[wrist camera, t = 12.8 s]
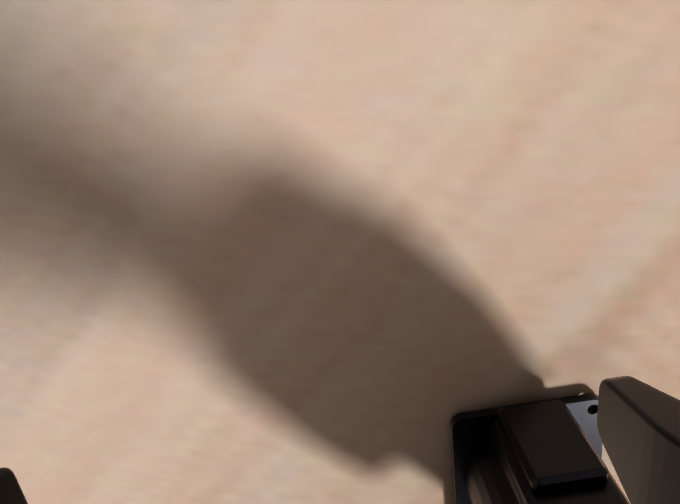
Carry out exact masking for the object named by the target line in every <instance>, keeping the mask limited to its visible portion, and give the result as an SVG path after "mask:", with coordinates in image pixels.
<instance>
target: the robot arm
mask: <svg viewBox="0 0 680 504" xmlns="http://www.w3.org/2000/svg"><path fill="white" fill-rule="evenodd" d="M591 405H594V406H593V407H591V408H589V407H590V406H591ZM462 424H466V425H465V426H463V427H459V426H460V425H462ZM450 436H451V453H452V471H453V489H454V504H630V503H631V504H680V400H678V399H676V398H674V397H672V396H670V395H668V394H666V393H664V392H662V391H660V390H658V389H656V388H653V387H651V386H649V385H647V384H645V383H643V382H641V381H639V380H637V379H635V378H633V377H630V376H622V377H615V378H608V379H604V380H603V381H602V382H601V384H600V387H599V396H598V395H595V394H586V395H579V396H573V397H566V398H559V399H552V400H545V401H539V402H532V403H525V404H518V405H511V406H505V407H498V408H491V409H484V410H477V411H470V412H464V413H459V414H456V415H455V416H453V417H452V419H451V420H450ZM602 442H603V445H604V447H605V449H606V451H607V453H608V455H609V458H610V460H611V462H612V464H613V466H614V468H615V471H616V473H617V475H618V477H619V479H620V481H621V484H622V486H623V488H624V490H625V492H626V494H627V496H628V499H629V501H630V503H629V501H628V500H627V498H626V497H625V495H624V494H623V492H622V491H621V489H620V488H619V486H618V484H617V483H616V481H615V480H614V478H613V477H612V475H611V474H610V472H609V471H608V468H607V467H606V465H605V464H604V462H603V461H602V459H601V455H602ZM0 504H28V503H27V501H26V499H25V496H24V494H23V492H22V490H21V488H20V485H19V483H18V481H17V479H16V477H15V475H14V473H13V471H11V470H10V469H9V468H0Z"/></svg>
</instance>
